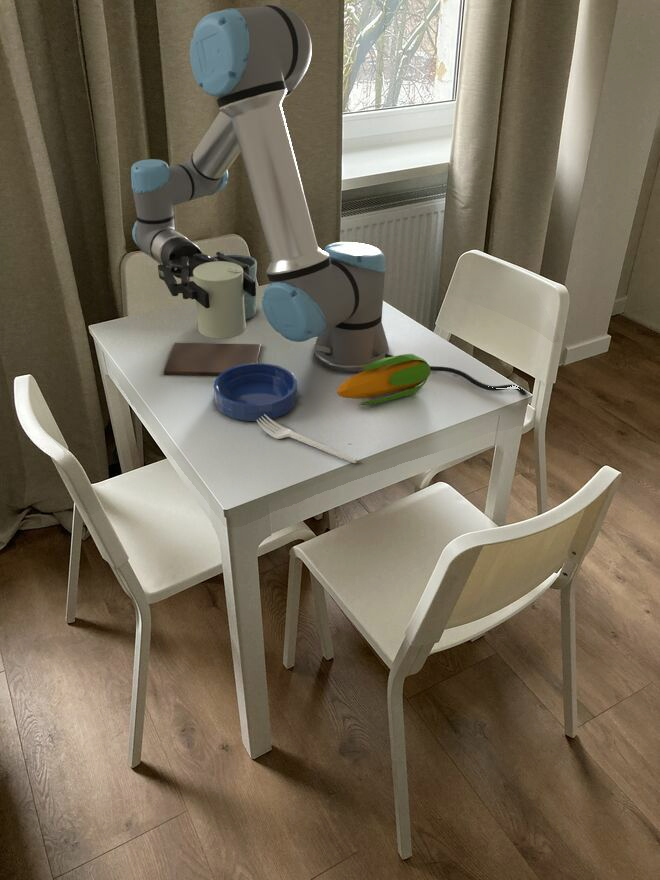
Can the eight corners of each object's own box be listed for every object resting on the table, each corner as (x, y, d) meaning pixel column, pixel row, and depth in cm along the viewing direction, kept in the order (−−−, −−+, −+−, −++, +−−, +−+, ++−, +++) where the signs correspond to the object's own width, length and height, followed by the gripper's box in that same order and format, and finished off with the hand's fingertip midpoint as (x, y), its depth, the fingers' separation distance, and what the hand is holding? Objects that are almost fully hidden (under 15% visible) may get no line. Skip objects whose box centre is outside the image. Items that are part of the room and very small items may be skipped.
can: (243, 339, 139) (240, 279, 132) (194, 338, 139) (188, 277, 132) (248, 317, 147) (246, 259, 140) (202, 316, 147) (196, 257, 140)
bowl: (298, 379, 146) (298, 363, 144) (294, 423, 134) (294, 406, 131) (221, 378, 146) (219, 362, 144) (209, 421, 134) (208, 404, 132)
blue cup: (231, 326, 164) (228, 275, 157) (205, 311, 170) (201, 261, 163) (268, 313, 170) (266, 263, 163) (241, 299, 176) (238, 250, 169)
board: (260, 347, 156) (260, 344, 156) (255, 376, 147) (255, 373, 146) (175, 345, 157) (174, 342, 156) (164, 374, 147) (163, 371, 146)
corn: (441, 356, 138) (348, 381, 130) (439, 392, 142) (348, 419, 134) (418, 342, 144) (328, 365, 136) (417, 377, 148) (328, 402, 140)
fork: (350, 469, 123) (351, 460, 122) (255, 430, 132) (254, 421, 131) (361, 459, 125) (361, 450, 124) (266, 421, 134) (266, 412, 133)
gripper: (226, 261, 157) (282, 300, 142) (129, 283, 147) (178, 328, 132) (224, 226, 153) (281, 263, 138) (123, 247, 143) (174, 288, 128)
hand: (231, 295), depth 135 cm, fingers closed on can, 9 cm apart
